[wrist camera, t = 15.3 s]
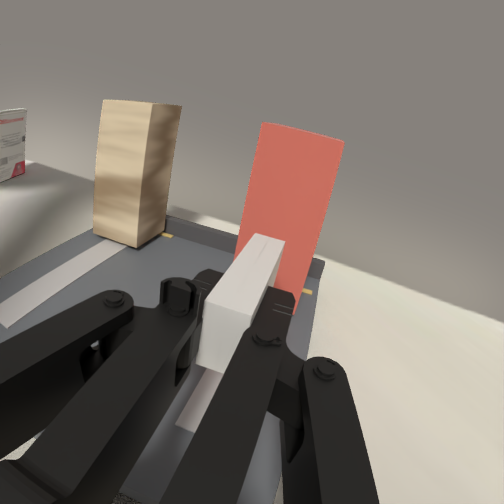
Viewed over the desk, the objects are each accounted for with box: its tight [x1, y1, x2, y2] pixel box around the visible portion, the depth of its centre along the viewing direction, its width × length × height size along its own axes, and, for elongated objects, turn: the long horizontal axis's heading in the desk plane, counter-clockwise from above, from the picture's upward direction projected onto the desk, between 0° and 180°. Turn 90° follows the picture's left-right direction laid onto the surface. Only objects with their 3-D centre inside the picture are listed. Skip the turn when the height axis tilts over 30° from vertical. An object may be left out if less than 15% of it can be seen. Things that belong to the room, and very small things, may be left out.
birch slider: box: [93, 100, 182, 248], centre depth 27 cm, size 5×5×12 cm
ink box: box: [0, 108, 27, 182], centre depth 40 cm, size 9×5×12 cm, turn 177°
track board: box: [0, 215, 325, 504], centre depth 21 cm, size 24×22×3 cm
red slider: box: [233, 122, 344, 315], centre depth 23 cm, size 5×5×12 cm
